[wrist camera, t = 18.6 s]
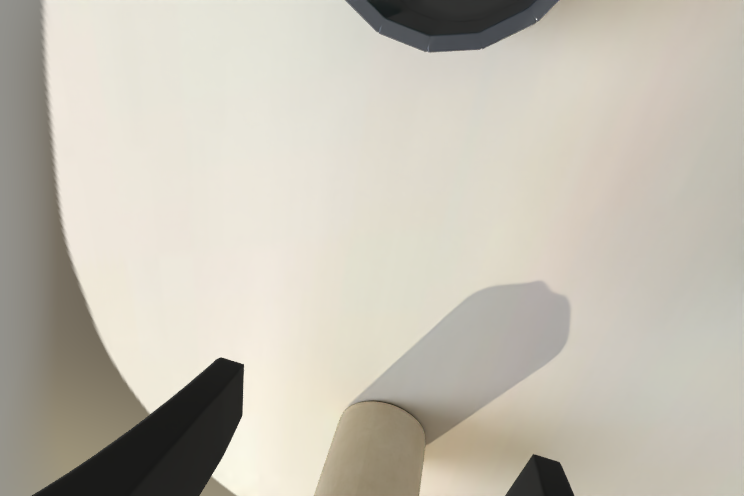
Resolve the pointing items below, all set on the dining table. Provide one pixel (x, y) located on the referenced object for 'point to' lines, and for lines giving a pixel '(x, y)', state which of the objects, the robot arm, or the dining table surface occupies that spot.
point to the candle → (374, 453)
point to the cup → (450, 21)
